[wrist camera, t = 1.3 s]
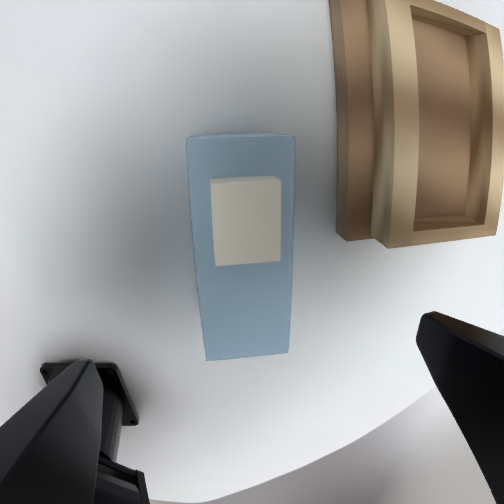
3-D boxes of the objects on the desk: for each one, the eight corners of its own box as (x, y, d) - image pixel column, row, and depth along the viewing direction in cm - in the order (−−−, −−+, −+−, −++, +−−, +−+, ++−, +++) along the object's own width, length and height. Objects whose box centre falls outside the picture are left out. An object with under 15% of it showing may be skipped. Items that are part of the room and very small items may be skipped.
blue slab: (269, 301, 20) (294, 368, 14) (204, 307, 20) (207, 377, 14) (268, 132, 16) (304, 137, 11) (191, 135, 16) (184, 141, 10)
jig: (475, 220, 20) (507, 236, 17) (336, 232, 19) (362, 255, 16) (477, 37, 15) (511, 33, 11) (328, -4, 13) (354, -25, 10)
